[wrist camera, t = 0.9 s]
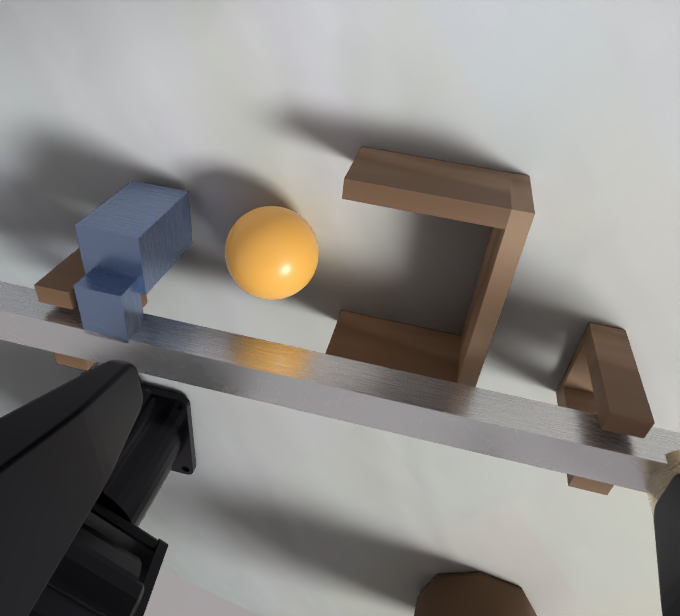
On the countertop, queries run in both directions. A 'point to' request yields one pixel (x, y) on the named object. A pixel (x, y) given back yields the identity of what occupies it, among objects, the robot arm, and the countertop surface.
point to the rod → (302, 359)
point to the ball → (271, 252)
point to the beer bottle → (472, 597)
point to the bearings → (574, 392)
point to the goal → (452, 203)
